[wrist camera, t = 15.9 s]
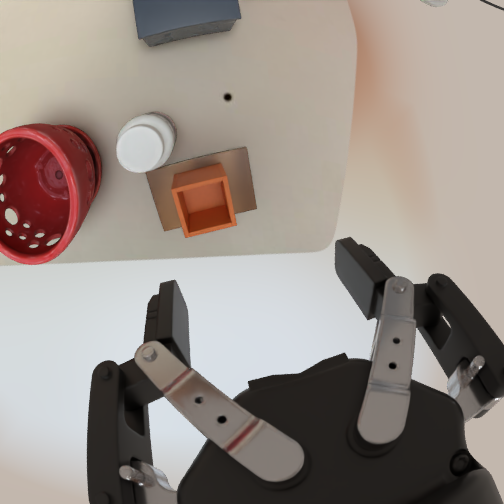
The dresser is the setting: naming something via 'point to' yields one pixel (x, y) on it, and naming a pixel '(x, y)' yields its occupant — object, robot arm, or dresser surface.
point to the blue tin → (182, 18)
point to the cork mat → (231, 161)
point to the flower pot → (45, 188)
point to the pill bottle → (146, 142)
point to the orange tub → (203, 200)
